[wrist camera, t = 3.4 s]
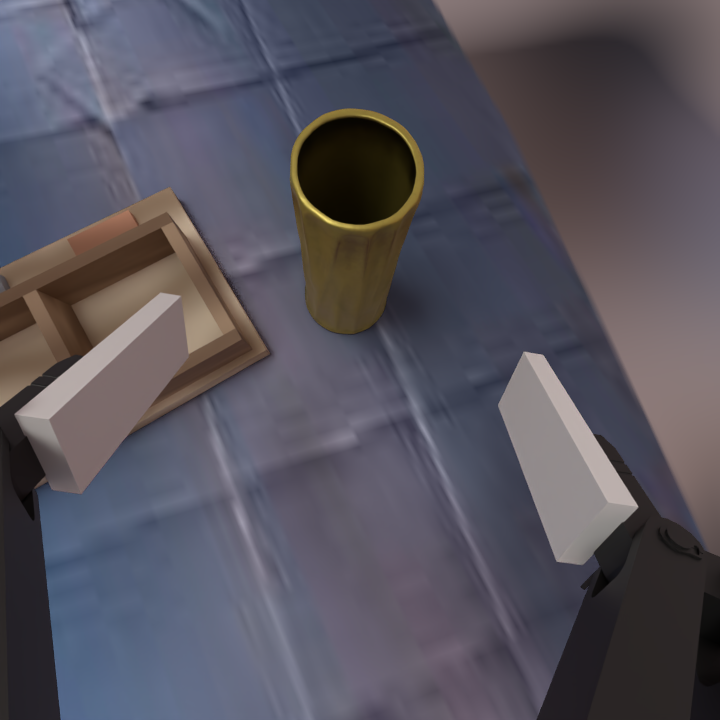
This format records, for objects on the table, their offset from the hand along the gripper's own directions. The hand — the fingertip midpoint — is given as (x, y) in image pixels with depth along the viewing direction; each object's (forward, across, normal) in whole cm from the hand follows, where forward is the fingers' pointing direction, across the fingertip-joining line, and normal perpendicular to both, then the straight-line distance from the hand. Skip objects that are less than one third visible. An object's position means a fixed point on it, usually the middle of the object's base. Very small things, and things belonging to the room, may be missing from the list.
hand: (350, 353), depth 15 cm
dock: (+9, -18, -8) cm, 22 cm away
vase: (+14, -1, -4) cm, 14 cm away
